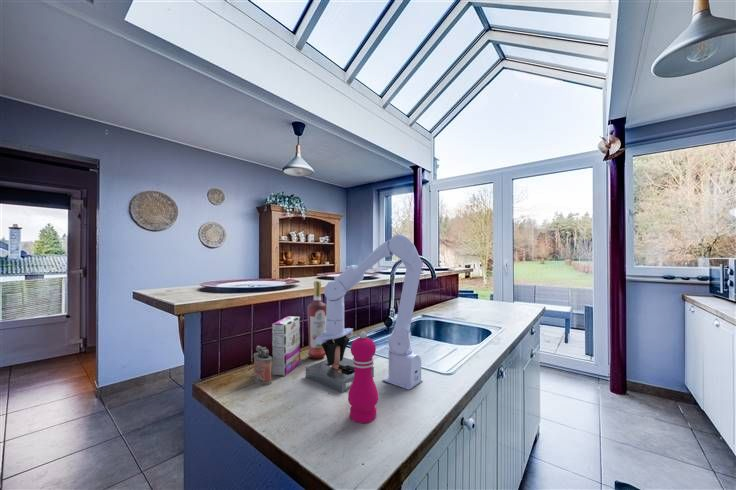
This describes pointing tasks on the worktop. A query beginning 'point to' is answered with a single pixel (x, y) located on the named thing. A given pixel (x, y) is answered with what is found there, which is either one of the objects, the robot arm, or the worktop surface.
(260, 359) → the lighter
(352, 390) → the pepper mill
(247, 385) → the worktop surface
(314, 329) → the liquor
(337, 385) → the keyhole plate
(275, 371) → the candy bar box
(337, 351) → the peg
